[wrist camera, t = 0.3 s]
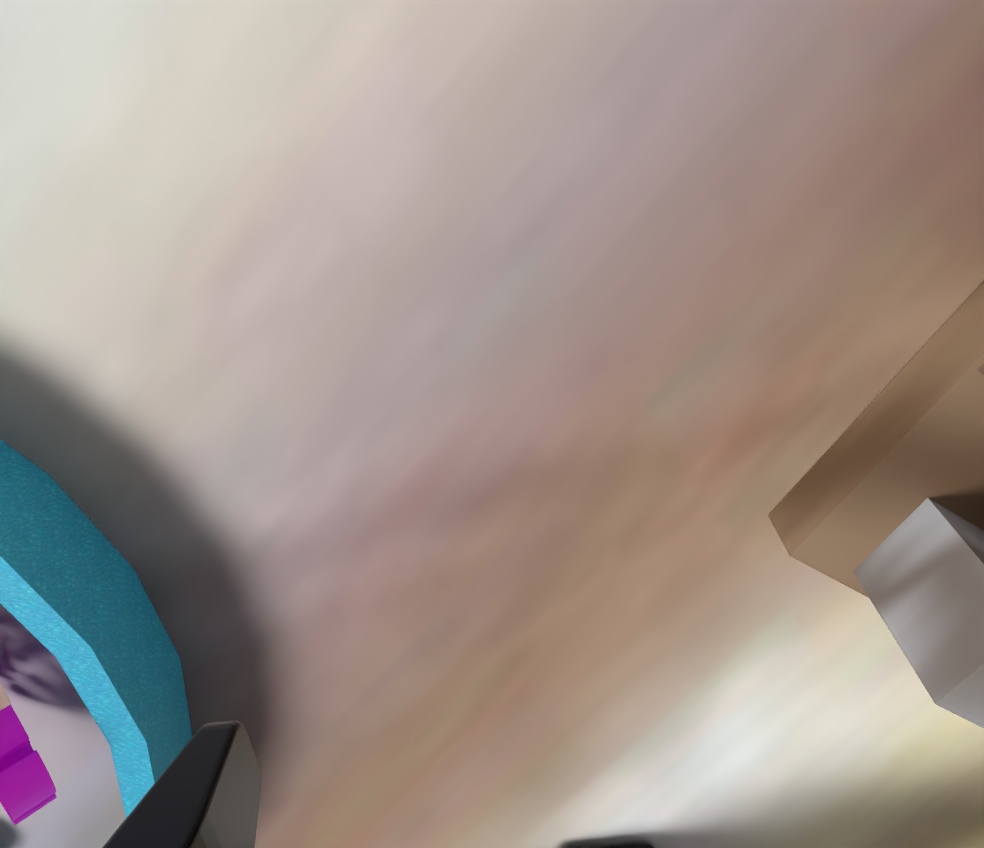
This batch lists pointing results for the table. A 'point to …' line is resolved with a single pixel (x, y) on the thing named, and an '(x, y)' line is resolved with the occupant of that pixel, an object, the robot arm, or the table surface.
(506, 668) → the table surface
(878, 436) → the board
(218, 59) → the table surface
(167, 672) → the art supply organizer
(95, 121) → the table surface
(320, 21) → the table surface
